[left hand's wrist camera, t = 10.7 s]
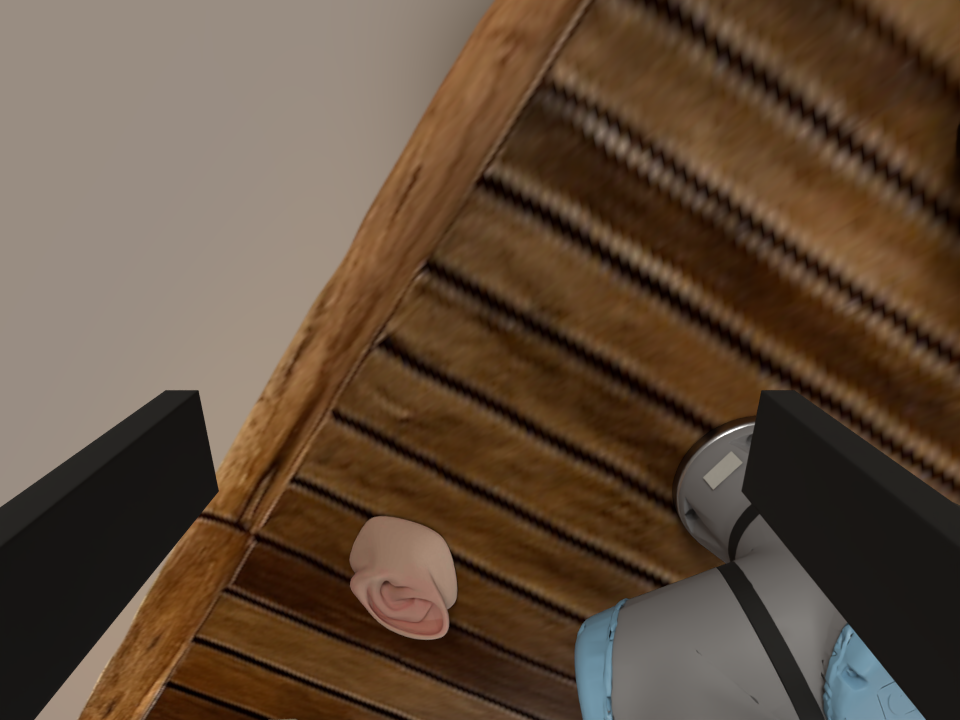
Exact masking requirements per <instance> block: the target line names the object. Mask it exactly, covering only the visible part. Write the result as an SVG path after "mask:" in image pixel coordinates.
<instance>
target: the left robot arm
mask: <svg viewBox="0 0 960 720" xmlns="http://www.w3.org/2000/svg"><path fill="white" fill-rule="evenodd" d="M218 492H219V490H218V485H217V480H216V475H215V470H214V465H213V460H212V455H211V450H210V445H209V440H208V436H207V430H206V425H205V420H204V415H203V411H202V406H201V401H200V396H199V391H198V390H166V391H164V392H163V393H161V394H160V395H158V396H157V397H156V398H154V399H153V400H151V401H150V402H149V403H147V404H146V405H144V406H143V407H141V408H140V409H139V410H137V411H136V412H134V413H133V414H132V415H130V416H129V417H127V418H126V419H124V420H123V421H122V422H120V423H119V424H117V425H116V426H115V427H113V428H112V429H110V430H109V431H108V432H106V433H105V434H103V435H102V436H101V437H99V438H98V439H96V440H95V441H93V442H92V443H91V444H89V445H88V446H86V447H85V448H84V449H82V450H81V451H79V452H78V453H76V454H75V455H74V456H72V457H71V458H69V459H68V460H67V461H65V462H64V463H62V464H61V465H60V466H58V467H57V468H55V469H54V470H53V471H51V472H50V473H48V474H47V475H45V476H44V477H43V478H41V479H40V480H38V481H37V482H36V483H34V484H33V485H31V486H30V487H28V488H27V489H26V490H24V491H23V492H21V493H20V494H19V495H17V496H16V497H14V498H13V499H12V500H10V501H9V502H7V503H6V504H4V505H3V506H2V507H0V720H34V719H35V718H36V717H37V716H38V714H39V713H40V712H41V711H42V709H43V708H44V707H45V706H46V705H47V703H48V702H49V701H50V700H51V698H52V697H53V696H54V695H55V693H56V692H57V691H58V690H59V688H60V687H61V686H62V685H63V683H64V682H65V681H66V680H67V678H68V677H69V676H70V675H71V674H72V672H73V671H74V670H75V669H76V667H77V666H78V665H79V664H80V662H81V661H82V660H83V659H84V657H85V656H86V655H87V654H88V653H89V651H90V650H91V649H92V647H93V646H94V645H95V644H96V643H97V641H98V640H99V639H100V638H101V636H102V635H103V634H104V633H105V631H106V630H107V629H108V628H109V626H110V625H111V624H112V623H113V622H114V620H115V619H116V618H117V617H118V615H119V614H120V613H121V612H122V610H123V609H124V608H125V607H126V605H127V604H128V603H129V602H130V601H131V599H132V598H133V597H134V596H135V594H136V593H137V592H138V591H139V589H140V588H141V587H142V586H143V584H144V583H145V582H146V581H147V579H148V578H149V577H150V576H151V574H152V573H153V572H154V571H155V570H156V568H157V567H158V566H159V565H160V563H161V562H162V561H163V560H164V558H165V557H166V556H167V555H168V553H169V552H170V551H171V550H172V549H173V547H174V546H175V545H176V544H177V542H178V541H179V540H180V539H181V537H182V536H183V535H184V534H185V532H186V531H187V530H188V529H189V527H190V526H191V525H192V524H193V523H194V521H195V520H196V519H197V518H198V516H199V515H200V514H201V513H202V511H203V510H204V509H205V508H206V506H207V505H208V504H209V503H210V501H211V500H212V499H213V498H214V497H215V495H216V494H217V493H218ZM673 501H674V505H675V509H676V511H677V513H678V515H679V517H680V519H681V521H682V522H683V524H684V526H685V528H686V529H687V530H688V532H689V533H690V534H691V535H692V536H693V537H694V538H695V539H696V540H697V541H698V542H699V543H700V544H701V545H702V546H704V547H705V548H706V549H708V550H709V551H710V552H712V553H713V554H714V555H716V556H717V557H718V558H720V559H721V560H722V561H724V562H725V563H726V564H724V565H721V566H719V567H716V568H713V569H710V570H708V571H705V572H702V573H700V574H697V575H694V576H692V577H689V578H686V579H684V580H681V581H678V582H675V583H673V584H670V585H667V586H664V587H662V588H659V589H656V590H653V591H651V592H648V593H645V594H642V595H640V596H637V597H634V598H632V599H627V598H626V599H623V600H621V601H620V602H619V603H617V605H616V606H614V607H611V608H609V609H607V610H605V611H602V612H600V613H598V614H595V615H593V616H591V617H589V618H588V619H587V620H586V621H585V622H584V623H583V624H582V626H581V627H580V630H579V632H578V635H577V640H576V644H575V673H576V683H577V690H578V696H579V702H580V707H581V712H582V717H583V720H960V505H958V504H955V503H953V502H951V501H950V500H949V499H947V498H946V497H944V496H943V495H941V494H940V493H939V492H937V491H936V490H934V489H933V488H932V487H930V486H929V485H927V484H926V483H925V482H923V481H922V480H920V479H919V478H917V477H916V476H915V475H913V474H912V473H910V472H909V471H908V470H906V469H905V468H903V467H902V466H900V465H899V464H898V463H896V462H895V461H893V460H892V459H891V458H889V457H888V456H886V455H885V454H884V453H882V452H881V451H879V450H878V449H876V448H875V447H874V446H872V445H871V444H869V443H868V442H867V441H865V440H864V439H862V438H861V437H860V436H858V435H857V434H855V433H854V432H852V431H851V430H850V429H848V428H847V427H845V426H844V425H843V424H841V423H840V422H838V421H837V420H836V419H834V418H833V417H831V416H830V415H828V414H827V413H826V412H824V411H823V410H821V409H820V408H819V407H817V406H816V405H814V404H813V403H812V402H810V401H809V400H807V399H806V398H804V397H803V396H802V395H800V394H799V393H797V392H796V391H795V390H762V391H761V396H760V401H759V406H758V410H757V415H756V416H750V417H744V418H740V419H736V420H733V421H730V422H728V423H725V424H723V425H721V426H719V427H717V428H715V429H713V430H712V431H710V432H709V433H707V434H706V435H704V436H703V437H702V438H701V439H699V440H698V441H697V442H696V443H695V444H694V445H693V446H692V447H691V448H690V450H689V451H688V452H687V453H686V455H685V456H684V458H683V459H682V461H681V463H680V465H679V467H678V469H677V472H676V475H675V478H674V483H673Z"/></svg>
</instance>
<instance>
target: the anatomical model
mask: <svg viewBox="0 0 960 720" xmlns="http://www.w3.org/2000/svg"><path fill="white" fill-rule="evenodd" d="M350 564H351V567H352V569H353V571H354V572H355V573H356V574H355V575H354V576H353V577H352V579H351V583H350V587H351V590H352V591H353V593H354V594H355V595H356V597H357V598H358V599H359V600H360V602H361V603H362V604H363V605H364V607H365V608H366V609H367V610H368V611H369V613H370V614H371V615H372V616H373V617H374V618H375V619H376V620H377V621H378V622H379V623H380V624H382V625H383V626H384V627H386V628H388V629H389V630H391V631H394V632H396V633H398V634H401V635H403V636H406V637H410V638H414V639H423V640H431V639H437V638H440V637H443V636H444V635H445V634H446V633H447V631H448V628H449V615H448V611H447V609H449V608H450V607H451V606H452V605H453V604H454V603H455V601H456V598H457V580H456V573H455V568H454V563H453V559H452V556H451V553H450V550H449V548H448V546H447V544H446V542H445V540H444V539H443V538H442V537H441V536H440V535H439V534H438V533H436V532H435V531H433V530H432V529H430V528H428V527H426V526H423V525H421V524H418V523H415V522H412V521H408V520H404V519H400V518H395V517H388V516H378V517H374V518H371V519H370V520H368V521H367V522H366V523H365V525H364V526H363V528H362V529H361V531H360V533H359V535H358V536H357V538H356V540H355V542H354V545H353V548H352V551H351V554H350Z"/></svg>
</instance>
